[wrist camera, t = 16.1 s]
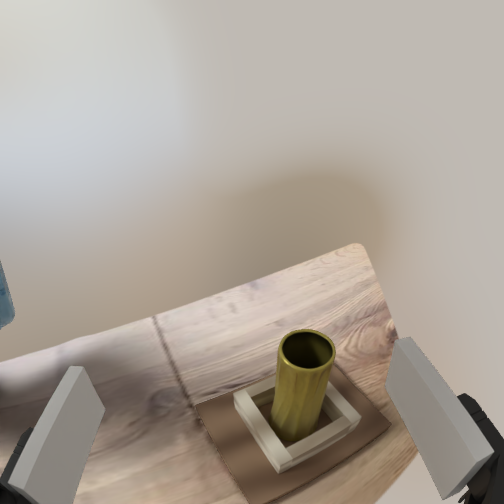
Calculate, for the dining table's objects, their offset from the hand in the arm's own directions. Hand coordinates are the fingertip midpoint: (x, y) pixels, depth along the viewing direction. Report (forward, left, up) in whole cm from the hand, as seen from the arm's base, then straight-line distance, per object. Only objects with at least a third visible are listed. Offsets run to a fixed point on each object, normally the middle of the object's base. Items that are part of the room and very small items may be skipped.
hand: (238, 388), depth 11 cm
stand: (-7, +10, -26) cm, 29 cm away
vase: (-7, +10, -25) cm, 28 cm away
